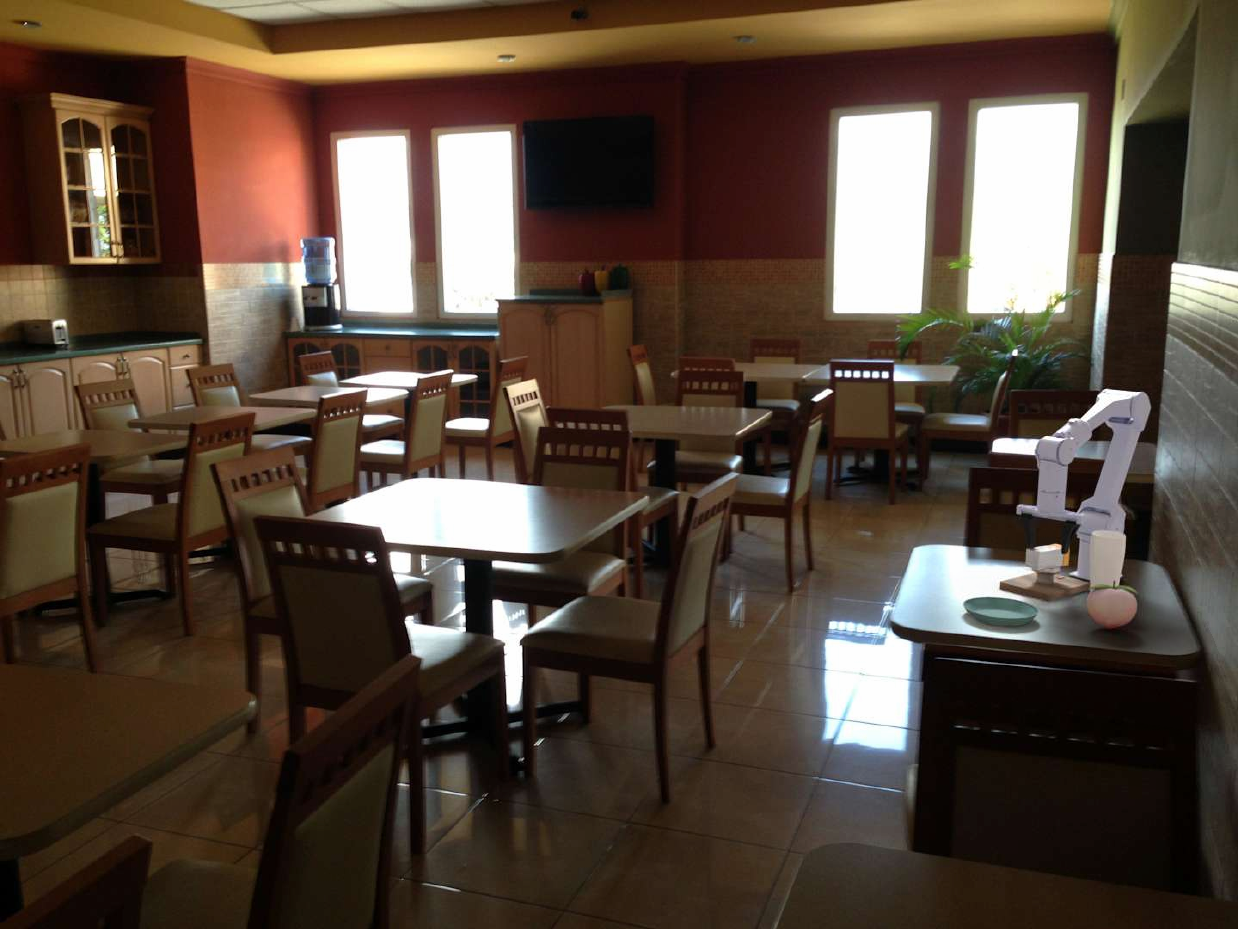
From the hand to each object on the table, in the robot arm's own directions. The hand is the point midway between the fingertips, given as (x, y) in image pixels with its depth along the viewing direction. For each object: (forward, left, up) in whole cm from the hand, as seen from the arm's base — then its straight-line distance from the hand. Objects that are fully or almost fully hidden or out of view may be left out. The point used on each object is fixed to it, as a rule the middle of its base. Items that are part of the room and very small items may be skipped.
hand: (1047, 550), depth 231 cm
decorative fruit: (+14, +24, -9) cm, 29 cm away
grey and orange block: (0, 0, -5) cm, 5 cm away
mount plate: (0, 0, -9) cm, 9 cm away
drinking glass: (-2, +13, -9) cm, 16 cm away
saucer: (+26, +7, -10) cm, 29 cm away
